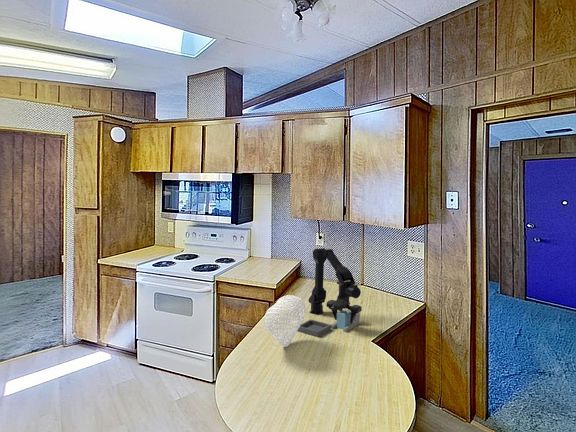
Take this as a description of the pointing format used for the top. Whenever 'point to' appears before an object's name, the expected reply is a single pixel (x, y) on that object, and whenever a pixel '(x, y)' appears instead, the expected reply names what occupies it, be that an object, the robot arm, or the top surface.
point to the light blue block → (343, 319)
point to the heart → (299, 320)
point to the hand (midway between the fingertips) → (343, 321)
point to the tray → (314, 328)
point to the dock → (354, 323)
